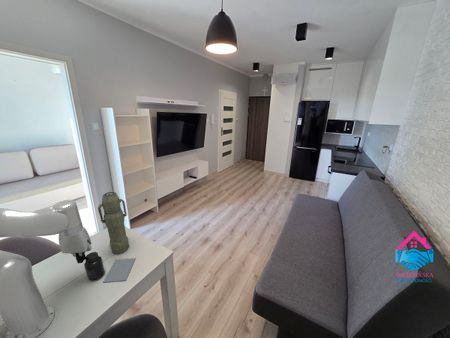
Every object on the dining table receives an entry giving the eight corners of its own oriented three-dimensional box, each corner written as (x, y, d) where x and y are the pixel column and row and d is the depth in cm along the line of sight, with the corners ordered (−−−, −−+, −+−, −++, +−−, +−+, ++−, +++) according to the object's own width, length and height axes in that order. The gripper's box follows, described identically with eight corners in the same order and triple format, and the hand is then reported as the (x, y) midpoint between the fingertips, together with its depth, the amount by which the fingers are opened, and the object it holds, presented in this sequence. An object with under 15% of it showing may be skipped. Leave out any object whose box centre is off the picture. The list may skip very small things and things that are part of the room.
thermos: (106, 249, 102) (93, 194, 91) (129, 240, 110) (119, 187, 99) (110, 259, 96) (97, 201, 85) (134, 247, 104) (124, 193, 93)
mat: (126, 280, 85) (125, 280, 85) (103, 282, 84) (102, 282, 83) (135, 258, 97) (135, 258, 97) (115, 260, 96) (115, 259, 96)
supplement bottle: (108, 272, 89) (103, 253, 85) (93, 284, 83) (87, 263, 79) (99, 267, 91) (94, 248, 88) (84, 278, 86) (78, 258, 82)
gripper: (45, 235, 73) (58, 269, 79) (85, 232, 75) (95, 266, 81) (58, 223, 80) (69, 256, 86) (95, 221, 82) (103, 253, 88)
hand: (81, 260), depth 84 cm, fingers closed
